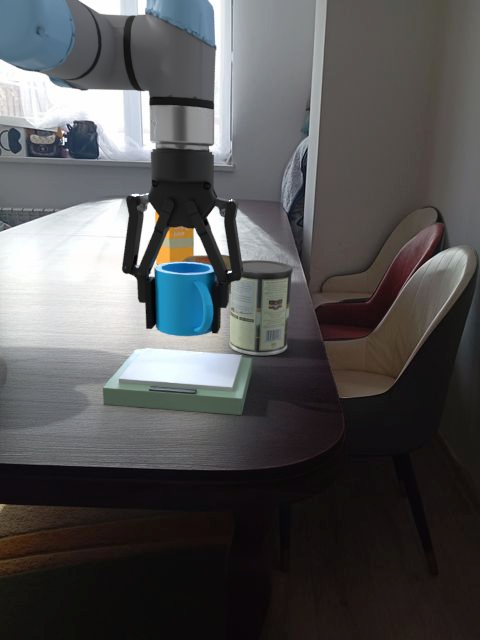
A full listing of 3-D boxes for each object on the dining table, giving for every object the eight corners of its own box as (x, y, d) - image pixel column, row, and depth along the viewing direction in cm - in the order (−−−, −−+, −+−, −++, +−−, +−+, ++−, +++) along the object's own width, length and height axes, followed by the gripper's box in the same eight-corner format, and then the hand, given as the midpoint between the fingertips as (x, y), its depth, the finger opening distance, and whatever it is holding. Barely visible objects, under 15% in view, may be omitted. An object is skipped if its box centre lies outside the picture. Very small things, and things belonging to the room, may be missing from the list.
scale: (103, 404, 66) (102, 383, 65) (136, 363, 80) (135, 345, 78) (241, 415, 66) (242, 394, 65) (251, 372, 79) (252, 354, 78)
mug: (147, 321, 72) (146, 263, 69) (201, 315, 76) (201, 260, 73) (178, 349, 62) (178, 283, 60) (238, 340, 66) (240, 278, 64)
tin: (179, 292, 121) (179, 256, 118) (176, 288, 124) (176, 254, 121) (239, 289, 127) (241, 255, 124) (235, 286, 129) (236, 252, 126)
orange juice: (179, 261, 154) (179, 192, 147) (194, 267, 147) (194, 195, 140) (155, 263, 149) (153, 192, 142) (169, 269, 143) (168, 195, 136)
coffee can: (250, 332, 97) (253, 257, 92) (297, 344, 91) (304, 266, 86) (216, 346, 88) (218, 265, 83) (266, 361, 83) (271, 275, 78)
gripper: (271, 152, 64) (262, 324, 72) (107, 144, 65) (117, 314, 73) (267, 152, 57) (258, 342, 65) (84, 142, 58) (97, 331, 66)
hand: (183, 327), depth 69 cm, fingers closed on mug, 8 cm apart
